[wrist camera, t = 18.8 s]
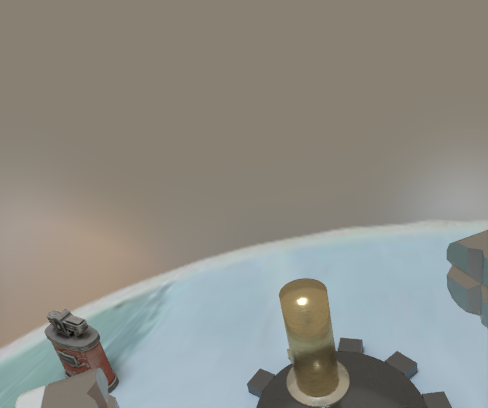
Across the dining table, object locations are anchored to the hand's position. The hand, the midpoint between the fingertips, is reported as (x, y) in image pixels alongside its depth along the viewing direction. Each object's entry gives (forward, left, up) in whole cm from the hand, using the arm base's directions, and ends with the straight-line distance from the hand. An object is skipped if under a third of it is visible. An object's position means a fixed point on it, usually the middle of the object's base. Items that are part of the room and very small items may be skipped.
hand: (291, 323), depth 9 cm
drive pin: (+8, +24, -29) cm, 38 cm away
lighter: (-16, +37, -30) cm, 50 cm away
